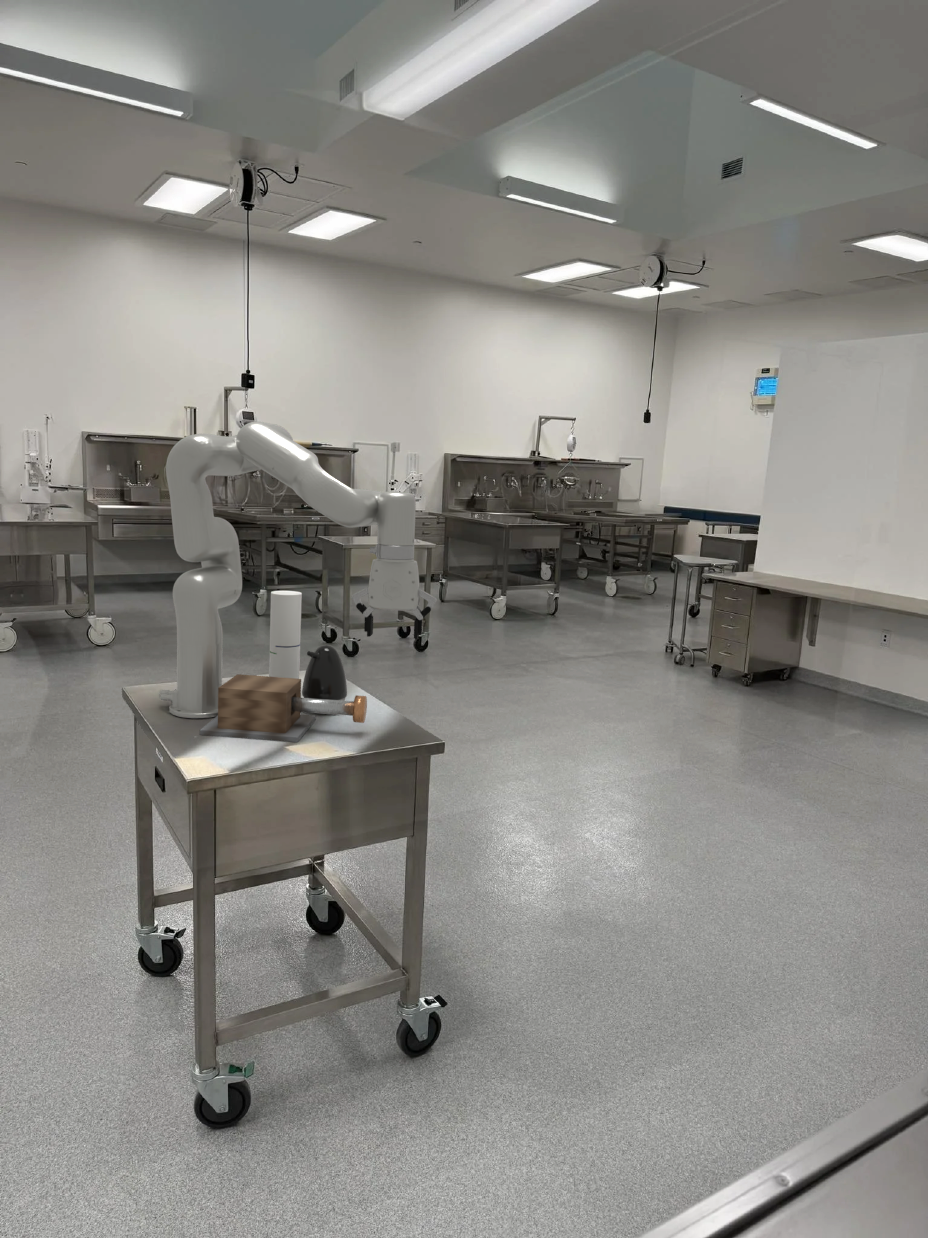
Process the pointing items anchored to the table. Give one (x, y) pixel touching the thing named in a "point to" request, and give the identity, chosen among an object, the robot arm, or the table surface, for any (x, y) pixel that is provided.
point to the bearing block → (259, 709)
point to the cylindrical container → (285, 634)
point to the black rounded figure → (325, 675)
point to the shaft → (332, 707)
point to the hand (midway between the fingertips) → (393, 636)
